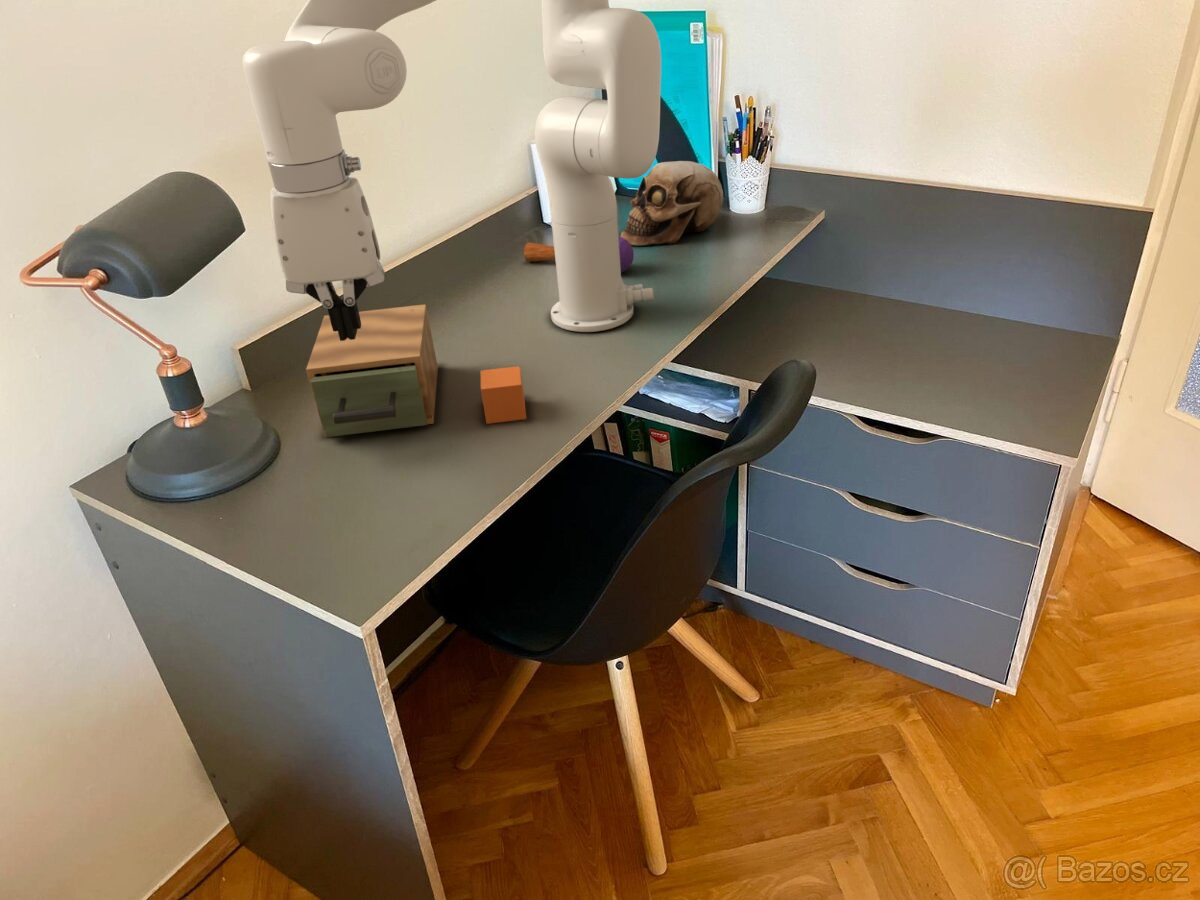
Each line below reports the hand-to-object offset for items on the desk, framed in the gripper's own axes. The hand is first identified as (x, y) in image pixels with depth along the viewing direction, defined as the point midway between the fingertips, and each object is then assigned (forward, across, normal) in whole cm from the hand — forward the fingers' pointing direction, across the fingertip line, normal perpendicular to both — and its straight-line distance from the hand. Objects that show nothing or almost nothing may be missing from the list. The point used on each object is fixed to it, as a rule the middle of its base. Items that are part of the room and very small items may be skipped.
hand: (349, 334), depth 102 cm
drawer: (+14, 0, -6) cm, 15 cm away
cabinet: (+15, 0, -11) cm, 19 cm away
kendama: (+15, -30, -50) cm, 60 cm away
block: (+15, -16, -4) cm, 22 cm away
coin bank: (+15, -48, -62) cm, 80 cm away
